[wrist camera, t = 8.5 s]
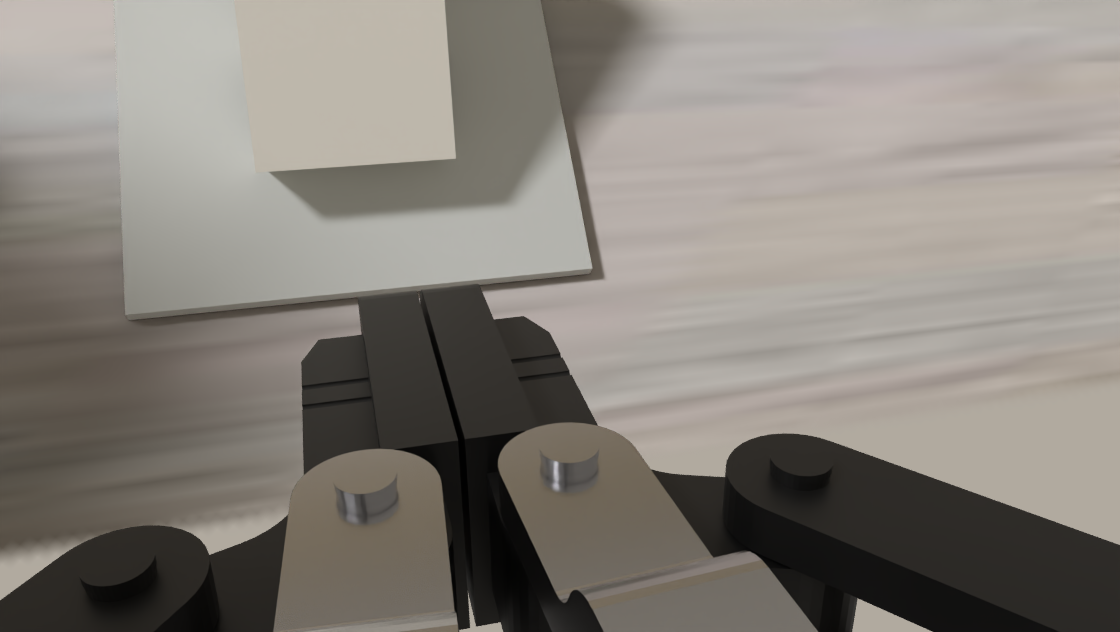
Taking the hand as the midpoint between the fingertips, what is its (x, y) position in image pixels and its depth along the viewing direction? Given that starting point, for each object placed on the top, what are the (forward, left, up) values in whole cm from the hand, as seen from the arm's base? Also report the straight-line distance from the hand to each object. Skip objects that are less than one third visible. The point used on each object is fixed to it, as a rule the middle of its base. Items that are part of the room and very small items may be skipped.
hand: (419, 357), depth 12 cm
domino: (0, +9, -12) cm, 15 cm away
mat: (0, +16, -13) cm, 21 cm away
